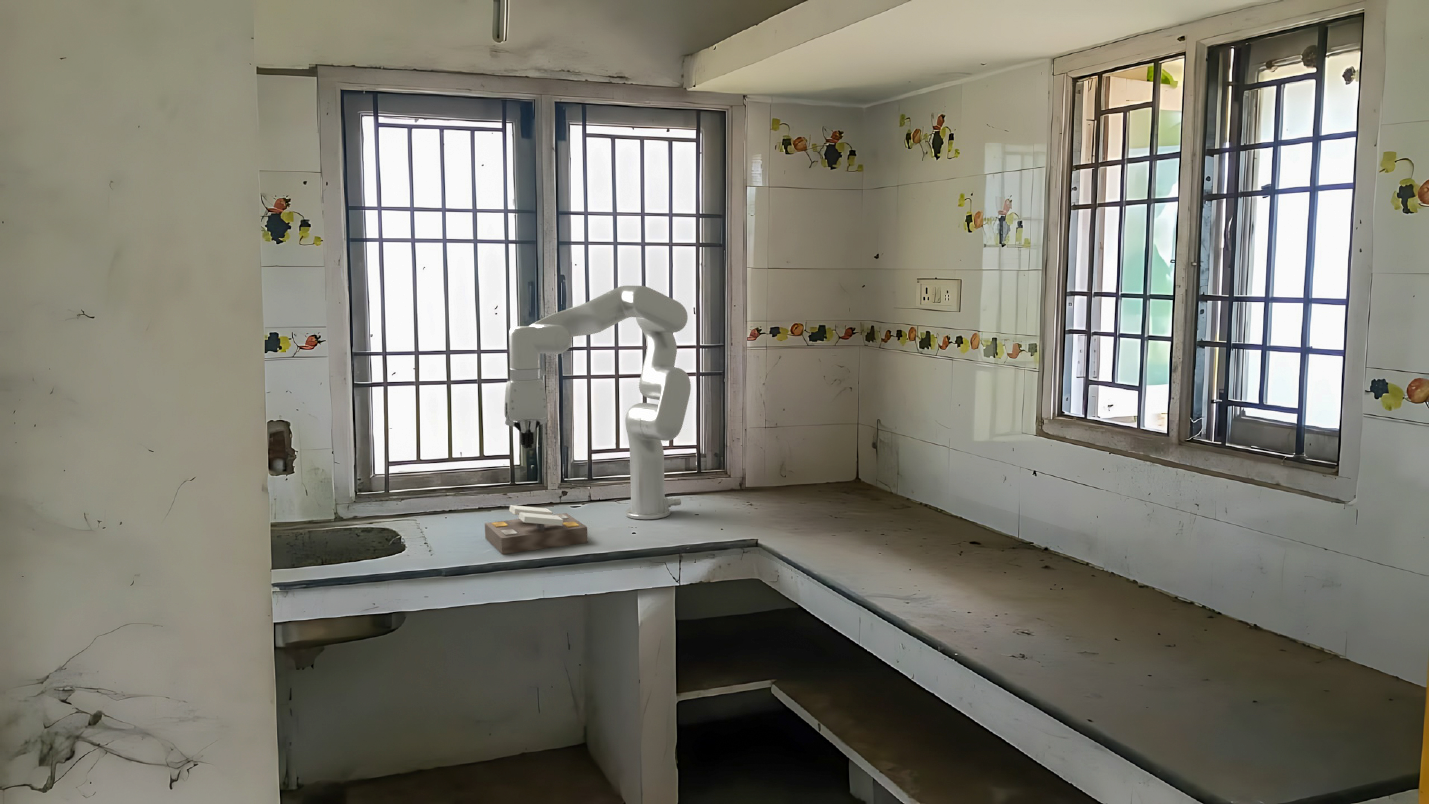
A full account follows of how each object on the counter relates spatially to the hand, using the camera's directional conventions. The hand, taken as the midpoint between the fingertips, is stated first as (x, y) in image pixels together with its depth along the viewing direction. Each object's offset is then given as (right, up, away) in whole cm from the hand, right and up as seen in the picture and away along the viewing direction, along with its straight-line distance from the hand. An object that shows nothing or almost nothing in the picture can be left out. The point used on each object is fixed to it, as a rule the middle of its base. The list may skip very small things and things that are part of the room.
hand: (527, 447), depth 263 cm
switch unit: (+2, -24, +3) cm, 24 cm away
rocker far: (0, -18, +6) cm, 19 cm away
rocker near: (+4, -19, -2) cm, 19 cm away
